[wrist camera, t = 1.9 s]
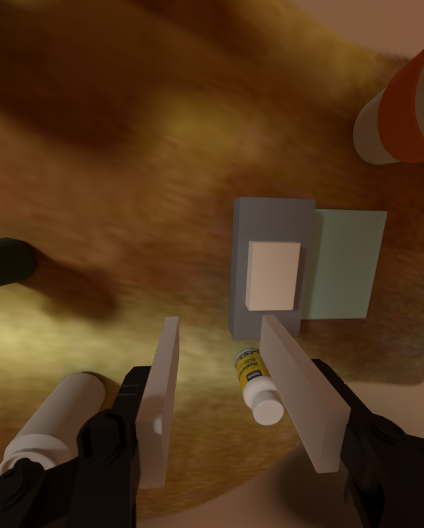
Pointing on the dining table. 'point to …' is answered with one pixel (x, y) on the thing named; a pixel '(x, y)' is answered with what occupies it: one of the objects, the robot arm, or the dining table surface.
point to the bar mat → (342, 263)
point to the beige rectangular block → (271, 275)
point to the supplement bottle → (258, 387)
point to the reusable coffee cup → (394, 119)
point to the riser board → (267, 229)
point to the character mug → (14, 261)
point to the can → (56, 424)
